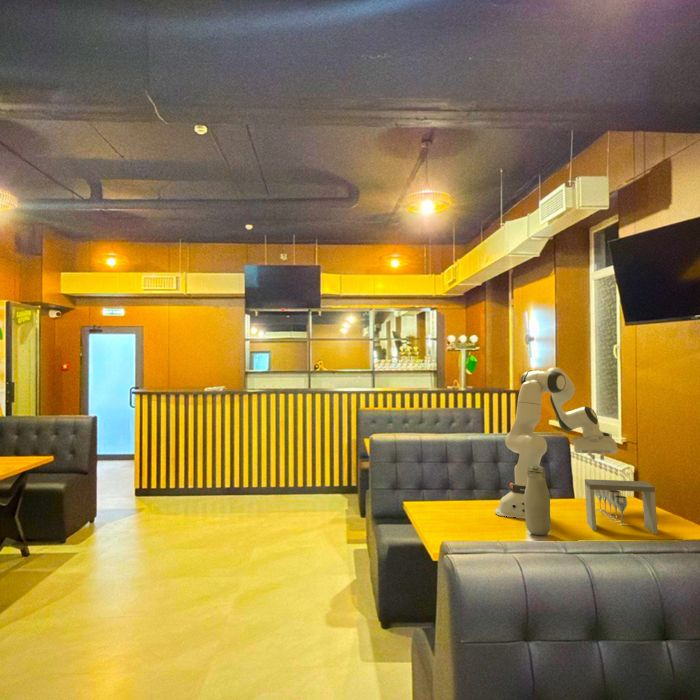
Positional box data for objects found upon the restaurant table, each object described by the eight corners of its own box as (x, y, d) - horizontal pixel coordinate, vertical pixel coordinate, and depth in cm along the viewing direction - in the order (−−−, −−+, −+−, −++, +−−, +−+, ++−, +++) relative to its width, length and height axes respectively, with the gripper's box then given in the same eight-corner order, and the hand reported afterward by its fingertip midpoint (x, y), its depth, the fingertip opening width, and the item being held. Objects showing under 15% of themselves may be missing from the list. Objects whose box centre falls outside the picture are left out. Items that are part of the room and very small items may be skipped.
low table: (592, 530, 196) (589, 484, 197) (587, 522, 207) (584, 479, 209) (657, 534, 189) (654, 487, 190) (648, 526, 200) (645, 481, 202)
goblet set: (632, 526, 201) (630, 495, 202) (618, 526, 201) (616, 494, 202) (604, 509, 228) (602, 482, 230) (592, 509, 229) (590, 482, 230)
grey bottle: (526, 537, 189) (522, 467, 191) (526, 529, 198) (523, 463, 200) (552, 539, 185) (548, 468, 187) (551, 531, 195) (547, 464, 197)
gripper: (571, 433, 248) (576, 454, 238) (614, 434, 242) (620, 455, 232) (571, 441, 252) (575, 462, 242) (613, 441, 246) (619, 463, 236)
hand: (597, 459), depth 237 cm, fingers open, 3 cm apart
